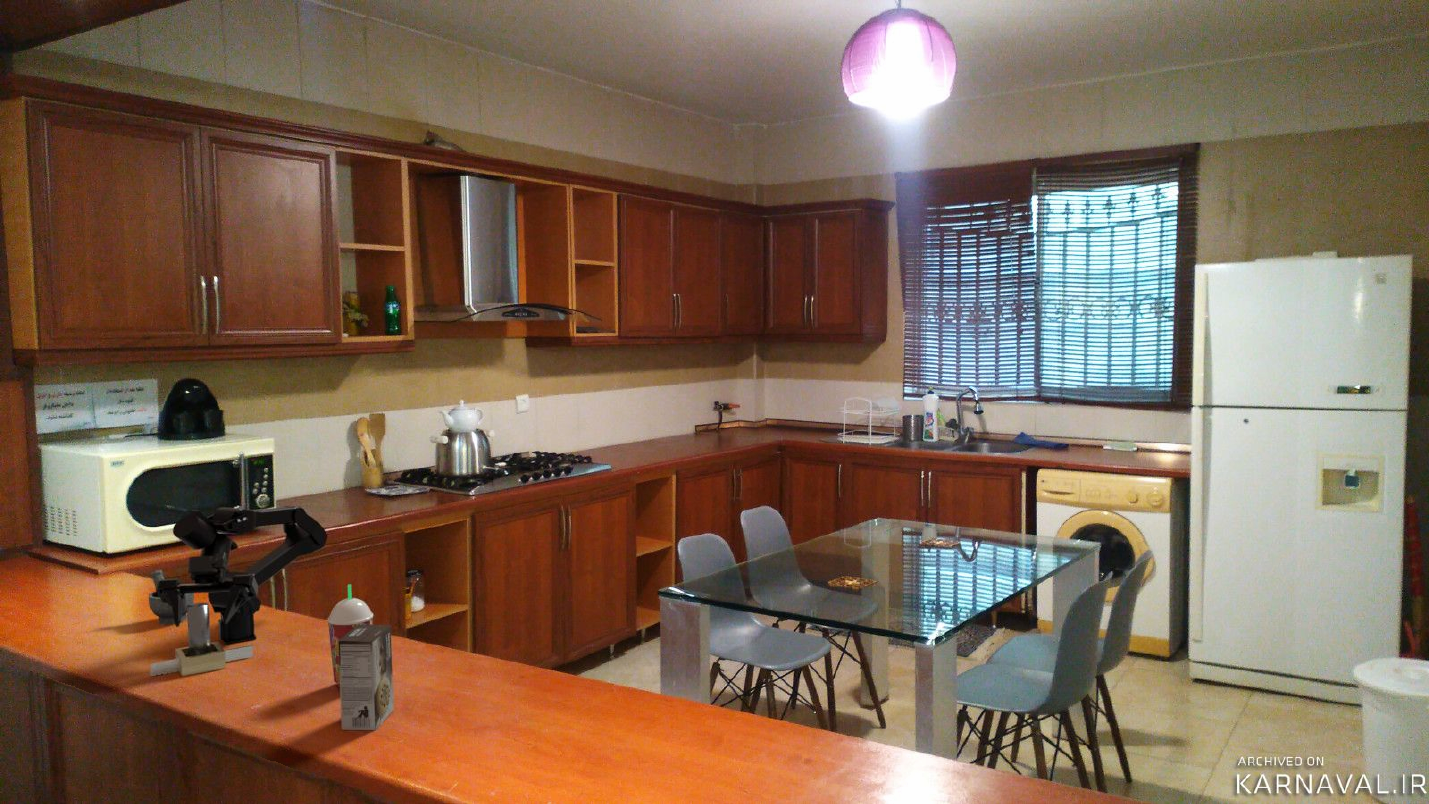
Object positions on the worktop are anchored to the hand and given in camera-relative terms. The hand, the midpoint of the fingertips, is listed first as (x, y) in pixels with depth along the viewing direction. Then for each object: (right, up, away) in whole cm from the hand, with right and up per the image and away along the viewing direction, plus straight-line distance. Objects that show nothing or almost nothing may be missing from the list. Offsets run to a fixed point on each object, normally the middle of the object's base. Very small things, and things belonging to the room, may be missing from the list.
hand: (201, 624), depth 202 cm
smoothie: (+35, -10, -11) cm, 38 cm away
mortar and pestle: (-24, -7, +32) cm, 41 cm away
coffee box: (+44, -11, -28) cm, 54 cm away
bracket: (0, -9, 0) cm, 9 cm away
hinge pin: (0, -9, 0) cm, 9 cm away
